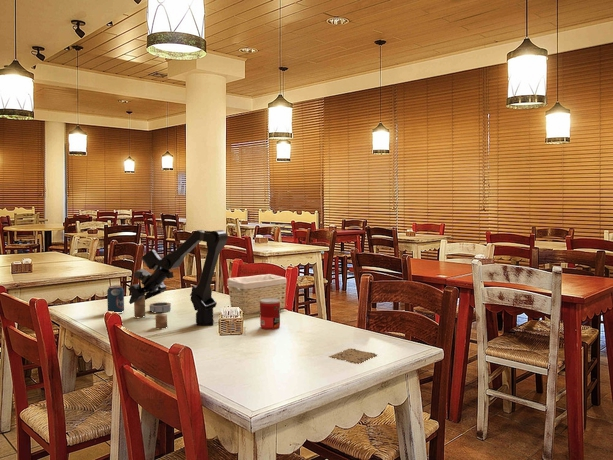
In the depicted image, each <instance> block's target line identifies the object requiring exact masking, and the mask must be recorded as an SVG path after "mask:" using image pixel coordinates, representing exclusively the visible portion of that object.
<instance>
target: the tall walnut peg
mask: <svg viewBox="0 0 613 460" xmlns="http://www.w3.org/2000/svg"><path fill="white" fill-rule="evenodd" d="M133 307H134V309H133V311H134V312H133V313H134V315H133V316H135V317H143V316H145V317H146V300H145V296H144V297H142V299H140V300H138V301H136V302H134V303H133ZM135 317H134V318H135Z"/></svg>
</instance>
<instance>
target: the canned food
mask: <svg viewBox="0 0 613 460" xmlns="http://www.w3.org/2000/svg"><path fill="white" fill-rule="evenodd" d="M259 318H260V319H259V322H260V323H259V324H260V328H261V329H262V330H268V331H270V330H277V329H279V328H280V326H281V308H280V300H279V299H274V298H266V299H261V300H260V312H259Z"/></svg>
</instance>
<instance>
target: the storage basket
mask: <svg viewBox="0 0 613 460" xmlns="http://www.w3.org/2000/svg"><path fill="white" fill-rule="evenodd" d="M226 281H227V287H228V294H229V302H230V308H231V307H239V308H240V309H241V310H242V311H243V313H244V314H243V315H251V314H257V313H260V300H261V299H266V298H274V299H279V300H280V309H284V308H286V294H287V293H286V291H287V290H286V289H287V284H288V281H287V277H286V276H285V277H284V276H281V275H276V274H272V273H267V274H258V275H250V276H239V277H229V278H227V279H226Z"/></svg>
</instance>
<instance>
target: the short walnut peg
mask: <svg viewBox="0 0 613 460" xmlns="http://www.w3.org/2000/svg"><path fill="white" fill-rule="evenodd" d="M166 327H167V328H168V314H166V313H157V314H155V329H156V328H165V329H167V328H166Z"/></svg>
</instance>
